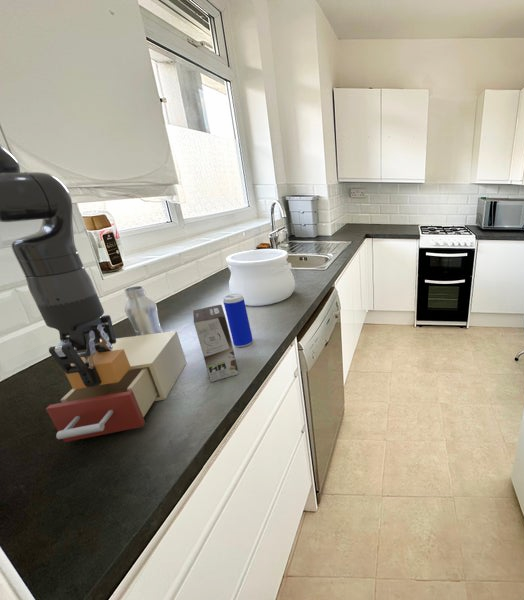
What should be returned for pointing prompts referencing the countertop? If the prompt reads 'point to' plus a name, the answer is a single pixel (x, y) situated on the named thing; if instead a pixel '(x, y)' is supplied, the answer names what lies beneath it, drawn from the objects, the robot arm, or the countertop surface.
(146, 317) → the plastic bottle
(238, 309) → the beverage can
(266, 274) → the pot
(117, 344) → the cabinet
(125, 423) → the drawer
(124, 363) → the orange rectangular block
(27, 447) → the countertop surface
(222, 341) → the coffee box
